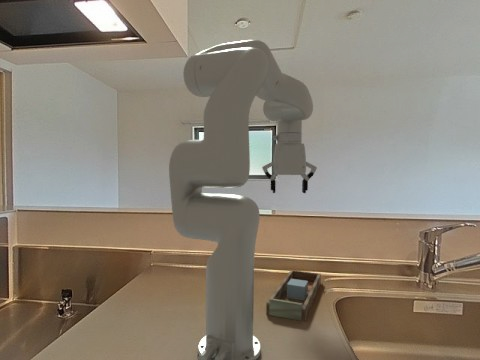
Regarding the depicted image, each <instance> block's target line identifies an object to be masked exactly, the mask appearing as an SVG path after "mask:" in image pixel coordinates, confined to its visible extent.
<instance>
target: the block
mask: <svg viewBox="0 0 480 360" xmlns="http://www.w3.org/2000/svg"><path fill="white" fill-rule="evenodd" d="M308 294H309V291H308V281H305V280H297V279H290V281H289V282H288V284H287V290H286V298H287V299H293V300H300V301H304V302H305V300H306V298H307V296H308Z"/></svg>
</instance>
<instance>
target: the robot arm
mask: <svg viewBox="0 0 480 360" xmlns="http://www.w3.org/2000/svg"><path fill="white" fill-rule="evenodd" d="M182 73H183V81H184V84H185V86H186V89H187V90H188V91H189V92H190V93H191V94H192V95H194V96H196V97H199V98H207V97H209V98H208V99H207V102H206V104H205V106H204V110H203V139H188V140H183V141H181V142H179V143H178V144H177V145H175V147H174V148H173V150H172V152H171V154H170V155H171V156H170V158H169V162H168V163H169V164H168V174H169V175H168V176H169V188H170V189H169V190H170V191H169V192H170V201H171V211H172V212H171V213H172V220H173V225H174V228H175V231H176V232H177V233H178V234H179V235H180V236H181V237H183V238H187V239H191V240H201V241H210V242H213V243H217V247H216V248H215V250H213V252H212V253H211V255H210V256H209V258H208V259H207V261H206V263H207V264H206V267H205V278H206V279H205V280H206V281H205V285H206V286H205V288H206V289H205V290H206V292H205V336H203V338H201V339H200V341H199V343H198V345H197V353H198V357H197V360H258V358H259V357H260V356H261V351H262V350H261V349H262V347H261V342H260V341H259V339H258V338H257V337H256V336H255V335H254V303H255V302H254V300H255V298H254V295H255V294H254V292H255V291H254V289H255V288H254V287H255V279H254V278H255V251H256V243H257V238H258V237H257V235H258V231H259V230H258V229H259V224H260V215H261V214H260V208H259V206H258V205H257V203H256V202H255V201H254V200H253V199H252V198H250V197H249V196H246V195H241V194H234V193H233V194H231V193H206V192H202V190H203V189H204V188H205V189H206V188H208V189H209V188H210V189H211V188H212V189H237V188H241V187H242V186H244V185H246V183H247V182H248V181H249V177H250V171H251V170H250V169H251V162H250V161H251V160H250V159H251V158H250V132H249V131H250V130H249V129H250V127H249V123H250V122H249V119H250V117H249V116H250V110H251V107H252V105H253V102H254V99H255V98H256V97H257V98H259V100H262V101H264V102H263V106H262V111H263V114H264V116H265V118H266V119H267V120H268V121H271V122H277V134H276V135H273V137H272V138H273V139H272V140H273V141H277V143H275V145H274V152H273V161H271V162H269V163H267V164H265V165H263V166H262V167H261V168H262V171H263V173H264V174H265V176H266V177H267V178H268V179H269V180H270V191H272V193H273V194H276V185H277V184H276V183H277V182H276V178H277V177H278V176H279V175H280V176H286V175H287V176H301V178H302V181H301V182H302V184H301V185H302V186H301V190H302V191H301V193H303V194H306V193H307V191H308V188H309V187H308V186H309V185H308V184H309V182H308V181H309V180H310V179H312V177H313V176H314V175H315V173H316V171H317V169H318V168H317V166H316V165H314V164H312V163H309V162H308V161H307V159H306V158H307V156H306V147H305V143H303V142H302V137H303V136H302V135H303V134H302V133H303V132H302V131H303V130H302V129H303V127H302V124H303V122H302V121H305V120H308V119H309V118H310V117H311V116H312V114H313V111H314V103H313V99H312V95H311V93H310V91H309V88H308V86H307V85H306V84H305V83H304V82H303V81H301V80H299V79H297V78H295V77H293V76H290V75H288V74H286V73H283V72H282V71H281V68H280V66H279V64H278V63H277V61H276V59H275V56H274V55H273V53H272V51H271V48H269V46H268V44H266V43H265V42H263V41H262V40H259V39H247V40H240V41H232V42H227V43H221V44H217V45H215V46H212V47H209V48H207V49H205V50H202V51H200V52H198V53H195V54H193V55H191V56H190V57H189V58H188V59H187V61H186V63H185V64H184V68H183V72H182ZM271 167H273V170H272V171H273V173H272V174H271V173H270V172H269V171H268V169H269V168H271ZM307 167H308V168H309V169H310V171H309V173H307V174H306V172H307Z"/></svg>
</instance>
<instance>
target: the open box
mask: <svg viewBox="0 0 480 360" xmlns="http://www.w3.org/2000/svg"><path fill="white" fill-rule="evenodd" d="M290 279H297V280H305V281H308V294H307V296H306V299H305V301H304V303H303V302H302V303H301V302H295V301H289V300H285V299H281V298H282V296H284V294H285V293H286V292H287V284H288V282H289V281H290ZM321 282H322V274H321V273H319V272H318V273H317V272H310V271H301V270H295V269H291V270H290V271H289V272H288V273H287V274H286V276H285V277H284V279H283V280H282V282H281V283H280V284H279V285H278V287H277V288H276V289H275V291H274V292H273V294H272V295H271V296H270V298H268V300H267V301H266V306H265V307H266V313H265V315H267V316H271V317H273V316H274V317H278V318H284V319H289V320H293V321H300V322H306V319H307V318H308V315H309V312H310V309H311V307H312V305H313V302H314V300H315V298H316V295H317V293H318V290H319V288H320V285H321V284H322V283H321Z"/></svg>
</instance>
